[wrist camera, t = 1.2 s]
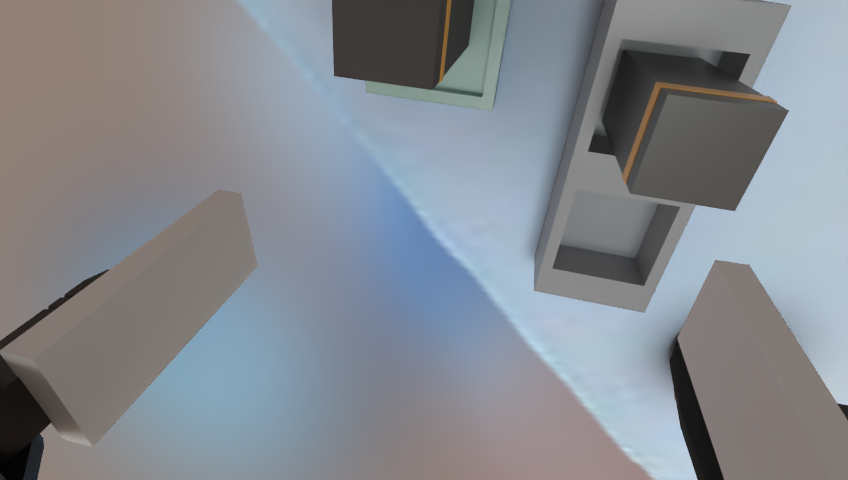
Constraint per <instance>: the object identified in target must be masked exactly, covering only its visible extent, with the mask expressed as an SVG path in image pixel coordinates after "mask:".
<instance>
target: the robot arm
mask: <svg viewBox="0 0 848 480" xmlns="http://www.w3.org/2000/svg"><path fill="white" fill-rule="evenodd" d="M257 266H258V265H257V260H256V256H255V252H254V247H253V243H252V238H251V234H250V230H249V225H248V221H247V217H246V212H245V208H244V204H243V199H242V195H241V193H237V192H230V191H223V190H217V191H216V192H215V193H213V194H212V195H211V196H209V197H208V198H207V199H205V200H204V201H203V202H201V203H200V204H199V205H197V206H196V207H194V208H193V209H192V210H190V211H189V212H188V213H186V214H185V215H184V216H182V217H181V218H179V219H178V220H177V221H175V222H174V223H173V224H171V225H170V226H169V227H167V228H166V229H164V230H163V231H162V232H160V233H159V234H158V235H156V236H155V237H154V238H152V239H151V240H149V241H148V242H147V243H146V244H144V245H143V246H141V247H140V248H139V249H137V250H136V251H135V252H133V253H132V254H130V255H129V256H128V257H126V258H125V259H124V260H122V261H121V262H120V263H118V264H117V265H115V266H114V267H113V268H111V269H110V270H106V271H104V272H102V273H99V274H97V275H95V276H93V277H91V278H89V279H86V280H84V281H83V282H81V283H80V284H79V285H77V286H76V287H75V288H73V289H72V290H70V291H69V292H68V293H66V294H65V297H64V298H59V299H58V300H57V301H55V302H54V303H52V304H51V305H50V306H49V308H48V309H47V310H46V309H44V310H42V311H41V312H40V313H38V314H37V315H36V316H34V317H33V318H31V319H30V320H29V321H27V322H26V323H24V324H23V325H22V326H20V327H19V328H17V329H16V330H15V331H13V332H12V333H10V334H9V335H8V336H6V337H5V338H4V339H2V340H1V341H0V480H37V477H38V473H39V468H40V463H41V458H42V453H43V449H44V443H43V437H42V436H41V435H40V433H41V432H42V431H43V430H44V429H45V428H46V427H47V426H48V425H49V424H50V423H52V425H53V426H54V427H55V429H56V430H57V431H58V433H59V434H60V435H61V437H62V438H63V439H64V440H68V441H72V442H75V443H79V444H83V445H87V446H90V447H94V446H95V444H96V443H97V442H98V441H99V440H100V439H101V438H102V437H103V436H104V435H105V433H106V432H107V431H108V430H109V429H110V428H111V427H112V426H113V425H114V424H115V423H116V421H117V420H118V419H119V418H120V417H121V416H122V415H123V414H124V413H125V411H126V410H127V409H128V408H129V407H130V406H131V405H132V404H133V403H134V402H135V401H136V399H137V398H138V397H139V396H140V395H141V394H142V393H143V392H144V391H145V390H146V388H147V387H148V386H149V385H150V384H151V383H152V382H153V381H154V380H155V378H156V377H157V376H158V375H159V374H160V373H161V372H162V371H163V370H164V369H165V368H166V366H167V365H168V364H169V363H170V362H171V361H172V360H173V359H174V358H175V357H176V355H177V354H178V353H179V352H180V351H181V350H182V349H183V348H184V347H185V346H186V344H187V343H188V342H189V341H190V340H191V339H192V338H193V337H194V336H195V334H196V333H197V332H198V331H199V330H200V329H201V328H202V327H203V326H204V325H205V323H206V322H207V321H208V320H209V319H210V318H211V317H212V316H213V315H214V314H215V313H216V311H217V310H218V309H219V308H220V307H221V306H222V305H223V304H224V303H225V301H226V300H227V299H228V298H229V297H230V296H231V295H232V294H233V293H234V292H235V291H236V289H237V288H238V287H239V286H240V285H241V284H242V283H243V282H244V281H245V280H246V278H247V277H248V276H249V275H250V274H251V273H252V272H253V271H254V270H255V269H256V268H257ZM677 339H678V342H679V345H680V348H681V351H682V354H683V357H684V360H685V363H686V366H687V369H688V372H689V375H690V378H691V381H692V384H693V387H694V390H695V393H696V396H697V399H698V402H699V405H700V408H701V411H702V414H703V417H704V420H705V423H706V426H707V429H708V432H709V435H710V438H711V441H712V444H713V447H714V450H715V453H716V456H717V459H718V462H719V465H720V468H721V471H722V474H723V477H724V480H848V405H842V404H837V403H836V401H835V399H834V398H833V396H832V395H831V393H830V392H829V390H828V388H827V387H826V385H825V384H824V382H823V381H822V379H821V377H820V376H819V374H818V373H817V371H816V370H815V368H814V366H813V365H812V363H811V362H810V360H809V359H808V357H807V355H806V354H805V352H804V351H803V349H802V348H801V346H800V344H799V343H798V341H797V340H796V338H795V336H794V335H793V333H792V332H791V330H790V329H789V327H788V325H787V324H786V322H785V321H784V319H783V318H782V316H781V314H780V313H779V311H778V310H777V308H776V307H775V305H774V303H773V302H772V300H771V299H770V297H769V296H768V294H767V292H766V291H765V289H764V288H763V286H762V285H761V283H760V281H759V280H758V278H757V277H756V275H755V274H754V272H753V270H752V269H751V267H750V266H749V265H746V264H739V263H732V262H725V261H718V260H715V262H714V264H713V266H712V268H711V270H710V272H709V274H708V276H707V278H706V280H705V282H704V284H703V286H702V288H701V290H700V292H699V295H698V297H697V299H696V301H695V303H694V305H693V307H692V309H691V311H690V313H689V315H688V317H687V319H686V321H685V323H684V325H683V328H682V330H681V332H680V334H679V336H678V338H677Z"/></svg>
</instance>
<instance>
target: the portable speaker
mask: <svg viewBox="0 0 848 480" xmlns="http://www.w3.org/2000/svg"><path fill="white" fill-rule="evenodd" d="M678 336H679V335H678ZM678 336H677V338H678ZM670 367H671V374H672V380H673V385H674V395H675V398H676V403H677V409H678V415H679V421H680V427H681V430H682V433H683V436H684V439H685V442H686V445H687V448H688V451H689V454H690V457H691V460H692V464H693V467H694V470H695V473H696V476H697V479H698V480H724V477H723V474H722V471H721V468H720V465H719V462H718V459H717V456H716V453H715V450H714V447H713V444H712V441H711V438H710V435H709V432H708V429H707V426H706V423H705V420H704V417H703V414H702V411H701V408H700V405H699V402H698V399H697V396H696V393H695V390H694V387H693V384H692V381H691V378H690V375H689V372H688V369H687V366H686V363H685V360H684V357H683V354H682V351H681V348H680V345H679V342H678V339H676V344H675V348H674V351H673V354H672V357H671V359H670Z"/></svg>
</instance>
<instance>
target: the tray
mask: <svg viewBox="0 0 848 480" xmlns="http://www.w3.org/2000/svg"><path fill="white" fill-rule="evenodd" d="M511 1H512V0H474V8H473V16H472V23H471V31H470V39H469V46H468V47H467V48H466V50H465V51H464V52H463V53H462V55H461V56H460V57H459V58H458V59H457V61H456V62H455V63H454V64H453V66H452V67H451V68H450V69H449V70H448V72H447V73H446V74H445V75H444V77H443V80H442V81H441V83H438V84H437V85H436V86H435V88H434V89H433V90H428V89H421V88H414V87H407V86H400V85H393V84H386V83H379V82H372V81H366V92H367V93H373V94H380V95H387V96H394V97H401V98H407V99H414V100H421V101H428V102H434V103H441V104H448V105H455V106H462V107H468V108H475V109H482V110H489V111H492V109H493V106H494V101H495V95H496V89H497V83H498V77H499V71H500V65H501V60H502V54H503V48H504V42H505V36H506V30H507V24H508V18H509V12H510V7H511Z"/></svg>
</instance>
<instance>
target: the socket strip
mask: <svg viewBox="0 0 848 480" xmlns="http://www.w3.org/2000/svg"><path fill="white" fill-rule="evenodd" d="M790 8H791V6H790V5H784V4H779V3H773V2H767V1H762V0H604V4H603V8H602V12H601V15H600V19H599V23H598V26H597V30H596V34H595V37H594V41H593V45H592V48H591V52H590V56H589V59H588V63H587V67H586V70H585V74H584V78H583V81H582V85H581V89H580V92H579V96H578V100H577V104H576V107H575V111H574V115H573V118H572V122H571V126H570V129H569V133H568V137H567V140H566V144H565V148H564V151H563V155H562V159H561V162H560V166H559V170H558V173H557V177H556V181H555V184H554V188H553V192H552V196H551V199H550V203H549V207H548V210H547V214H546V218H545V221H544V225H543V229H542V232H541V236H540V240H539V243H538V247H537V251H536V254H535V266H534V291H538V292H543V293H548V294H553V295H558V296H563V297H568V298H573V299H578V300H583V301H588V302H593V303H598V304H603V305H608V306H613V307H618V308H623V309H628V310H633V311H638V312H643V313H644V312H645V310H646V308H647V306H648V304H649V302H650V300H651V298H652V296H653V294H654V291H655V289H656V287H657V285H658V283H659V281H660V279H661V277H662V275H663V273H664V271H665V268H666V266H667V264H668V262H669V260H670V258H671V256H672V254H673V252H674V250H675V248H676V246H677V243H678V241H679V239H680V237H681V235H682V233H683V231H684V229H685V227H686V225H687V223H688V221H689V218H690V216H691V214H692V212H693V210H694V208H695V206H696V205H701V206H707V207H713V208H719V209H725V210H731V211H735V210H736V208H737V206H738V204H739V202H740V200H741V198H742V197H743V195H744V193H745V191H746V189H747V187H748V185H749V184H750V182H751V180H752V178H753V176H754V174H755V173H756V171H757V169H758V167H759V165H760V163H761V161H762V160H763V158H764V156H765V154H766V152H767V150H768V148H769V147H770V145H771V143H772V141H773V139H774V137H775V135H776V134H777V132H778V130H779V128H780V126H781V124H782V122H783V121H784V119H785V117H786V115H787V113H788V111H789V110H787V109H785V108H784V107H782V106H780V105H779V104H777V101H776V100H774V99H772V98H770V97H769V96H764V95H762V94H760V93H759V92H757V91H755V90H754V89H752V87H753V85H754V83H755V81H756V79H757V77H758V75H759V73H760V70H761V68H762V66H763V64H764V62H765V60H766V58H767V56H768V54H769V52H770V50H771V48H772V45H773V43H774V41H775V39H776V37H777V35H778V33H779V31H780V29H781V27H782V25H783V23H784V20H785V18H786V16H787V14H788V12H789V10H790Z"/></svg>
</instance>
